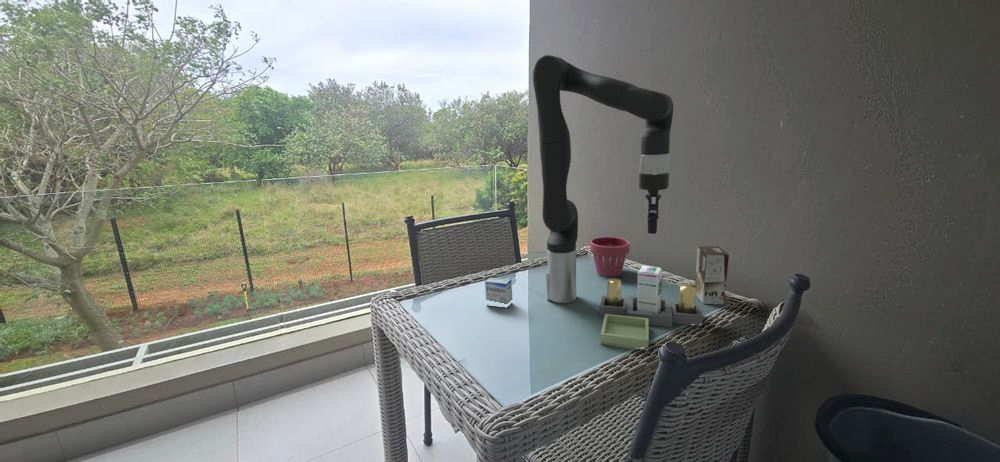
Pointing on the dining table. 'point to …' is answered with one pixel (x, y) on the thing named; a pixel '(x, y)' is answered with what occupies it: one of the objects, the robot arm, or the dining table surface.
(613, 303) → the left brass peg
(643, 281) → the syrup box
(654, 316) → the socket block
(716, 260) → the coffee box
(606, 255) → the plant pot
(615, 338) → the tray
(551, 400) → the dining table surface
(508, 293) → the medicine box
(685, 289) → the right brass peg
